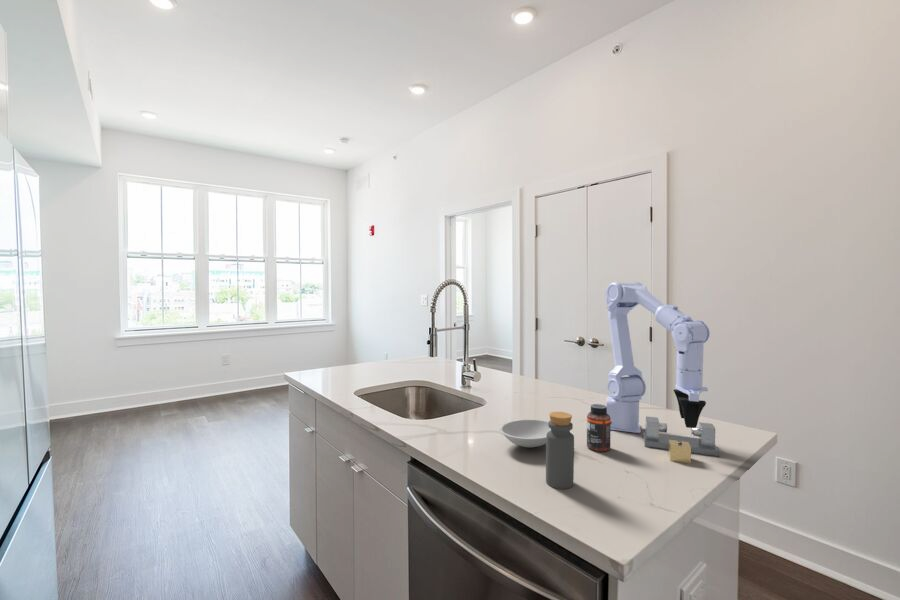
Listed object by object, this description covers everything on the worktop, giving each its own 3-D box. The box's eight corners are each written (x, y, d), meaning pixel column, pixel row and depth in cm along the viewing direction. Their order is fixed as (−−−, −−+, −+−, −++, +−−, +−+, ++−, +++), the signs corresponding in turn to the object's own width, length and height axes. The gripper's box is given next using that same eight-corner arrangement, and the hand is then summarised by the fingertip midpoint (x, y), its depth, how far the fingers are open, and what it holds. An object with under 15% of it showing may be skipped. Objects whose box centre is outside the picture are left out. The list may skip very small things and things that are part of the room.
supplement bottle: (609, 445, 113) (610, 404, 112) (610, 454, 107) (611, 410, 107) (586, 442, 115) (587, 401, 114) (586, 450, 109) (587, 407, 109)
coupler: (670, 461, 103) (670, 443, 103) (668, 455, 107) (668, 438, 107) (690, 464, 102) (691, 446, 101) (687, 457, 105) (688, 440, 105)
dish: (533, 432, 123) (533, 415, 122) (573, 448, 111) (573, 429, 110) (486, 445, 113) (487, 426, 112) (524, 464, 101) (525, 443, 101)
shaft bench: (644, 446, 112) (645, 422, 112) (643, 436, 120) (643, 414, 119) (718, 456, 106) (719, 431, 106) (712, 445, 113) (712, 421, 113)
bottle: (542, 477, 94) (543, 410, 93) (567, 476, 94) (568, 410, 94) (550, 489, 88) (551, 419, 88) (577, 488, 89) (579, 418, 88)
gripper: (714, 376, 97) (713, 434, 97) (702, 365, 110) (700, 416, 111) (680, 373, 99) (678, 430, 100) (671, 363, 113) (670, 413, 113)
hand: (688, 422), depth 105 cm, fingers open, 7 cm apart
